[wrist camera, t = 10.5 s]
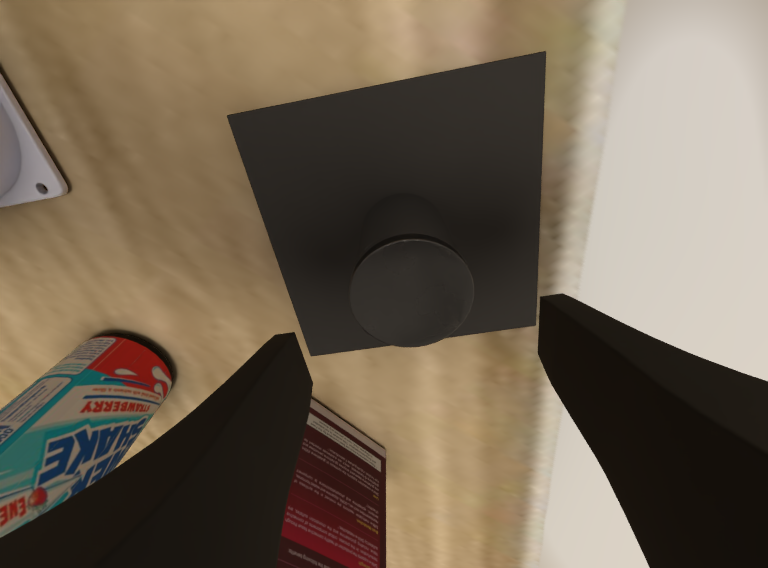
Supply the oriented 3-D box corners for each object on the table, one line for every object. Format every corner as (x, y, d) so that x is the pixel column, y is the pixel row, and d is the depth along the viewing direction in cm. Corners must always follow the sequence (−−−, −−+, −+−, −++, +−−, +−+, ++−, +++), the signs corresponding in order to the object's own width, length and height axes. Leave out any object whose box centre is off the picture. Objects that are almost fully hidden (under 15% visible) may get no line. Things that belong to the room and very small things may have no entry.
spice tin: (369, 279, 19) (362, 354, 14) (351, 200, 17) (335, 251, 12) (449, 266, 19) (477, 339, 13) (441, 184, 17) (470, 228, 11)
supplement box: (261, 422, 26) (111, 817, 12) (305, 389, 24) (192, 799, 10) (346, 476, 29) (308, 842, 15) (389, 450, 27) (394, 831, 13)
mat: (311, 352, 22) (310, 356, 22) (229, 115, 16) (226, 115, 16) (533, 321, 21) (536, 325, 21) (542, 52, 15) (546, 50, 14)
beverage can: (164, 409, 25) (-85, 762, 12) (75, 376, 23) (-323, 737, 10) (189, 354, 23) (-87, 718, 9) (92, 313, 21) (-399, 677, 8)
